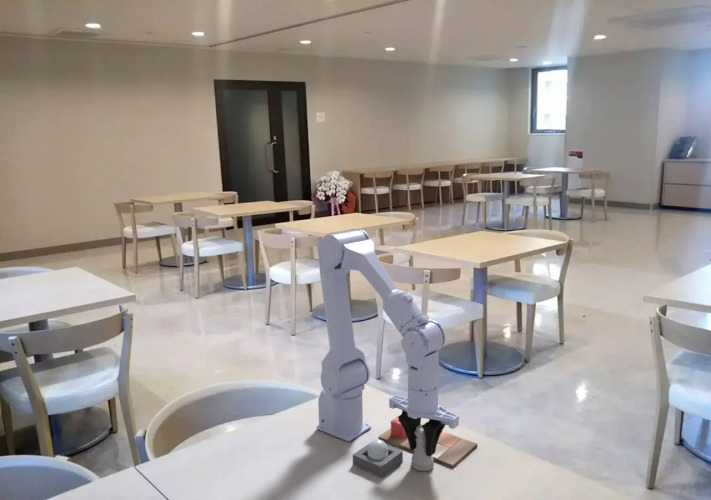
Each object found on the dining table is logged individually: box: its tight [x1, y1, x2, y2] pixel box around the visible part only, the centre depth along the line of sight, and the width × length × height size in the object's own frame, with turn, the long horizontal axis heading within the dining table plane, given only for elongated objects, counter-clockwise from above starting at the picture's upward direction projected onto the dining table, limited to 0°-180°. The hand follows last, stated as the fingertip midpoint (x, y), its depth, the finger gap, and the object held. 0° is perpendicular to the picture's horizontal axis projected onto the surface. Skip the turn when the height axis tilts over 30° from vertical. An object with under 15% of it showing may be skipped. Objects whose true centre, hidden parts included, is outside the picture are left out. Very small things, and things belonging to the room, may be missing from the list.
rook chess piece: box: [410, 424, 435, 472], centre depth 114 cm, size 4×4×8 cm
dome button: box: [368, 438, 388, 462], centre depth 115 cm, size 4×4×4 cm
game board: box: [377, 423, 478, 469], centre depth 123 cm, size 18×10×1 cm, turn 51°
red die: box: [390, 415, 406, 438], centre depth 126 cm, size 3×3×3 cm
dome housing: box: [352, 442, 404, 478], centre depth 116 cm, size 7×7×2 cm
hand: (422, 450), depth 114 cm, fingers closed on rook chess piece, 3 cm apart
